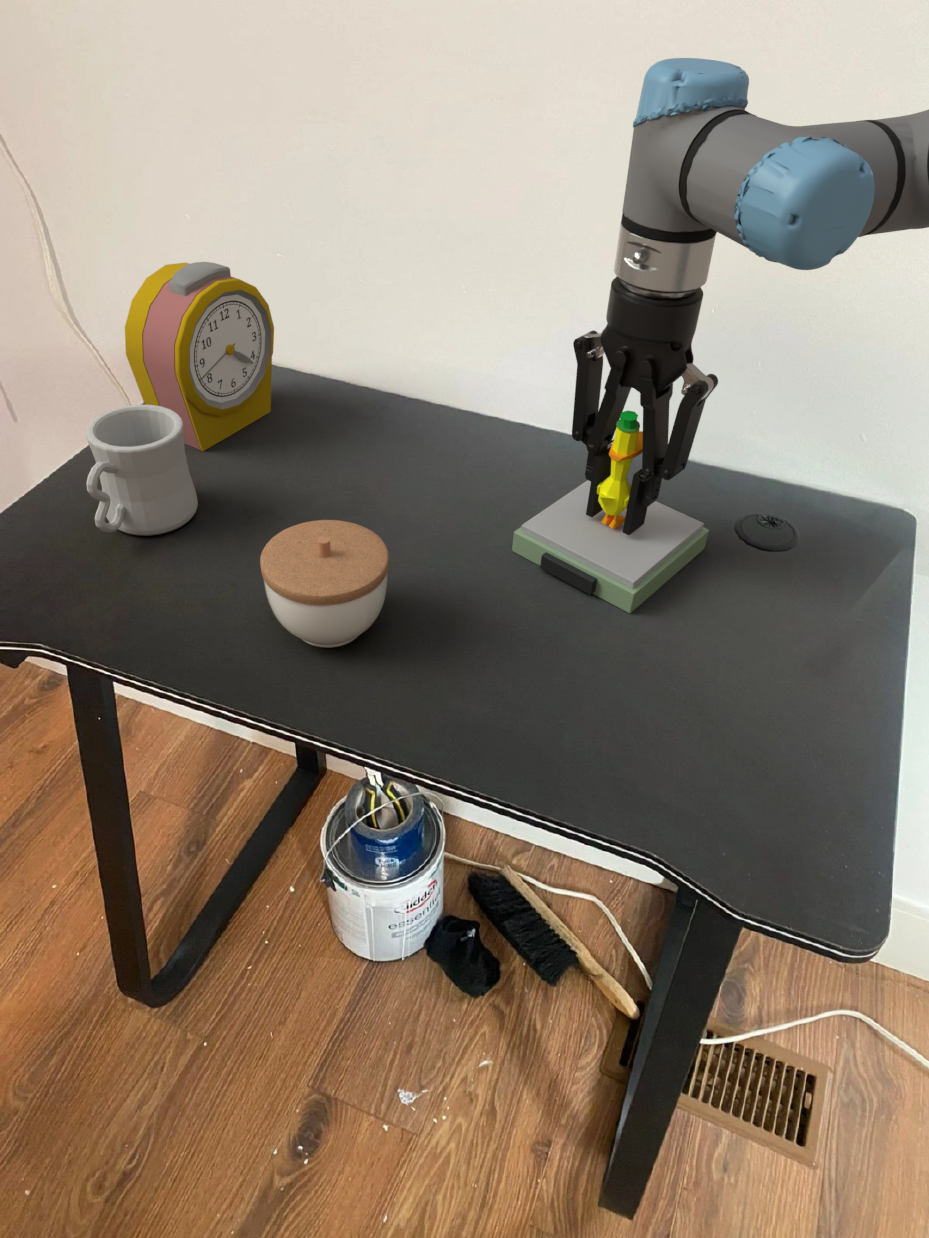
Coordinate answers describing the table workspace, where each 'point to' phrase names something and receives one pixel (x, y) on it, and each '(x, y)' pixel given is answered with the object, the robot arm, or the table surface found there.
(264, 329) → the alarm clock
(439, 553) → the table surface
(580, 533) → the kitchen scale
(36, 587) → the table surface
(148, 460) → the mug
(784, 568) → the table surface
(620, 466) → the toy figure
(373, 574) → the trinket box
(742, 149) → the robot arm
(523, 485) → the table surface
